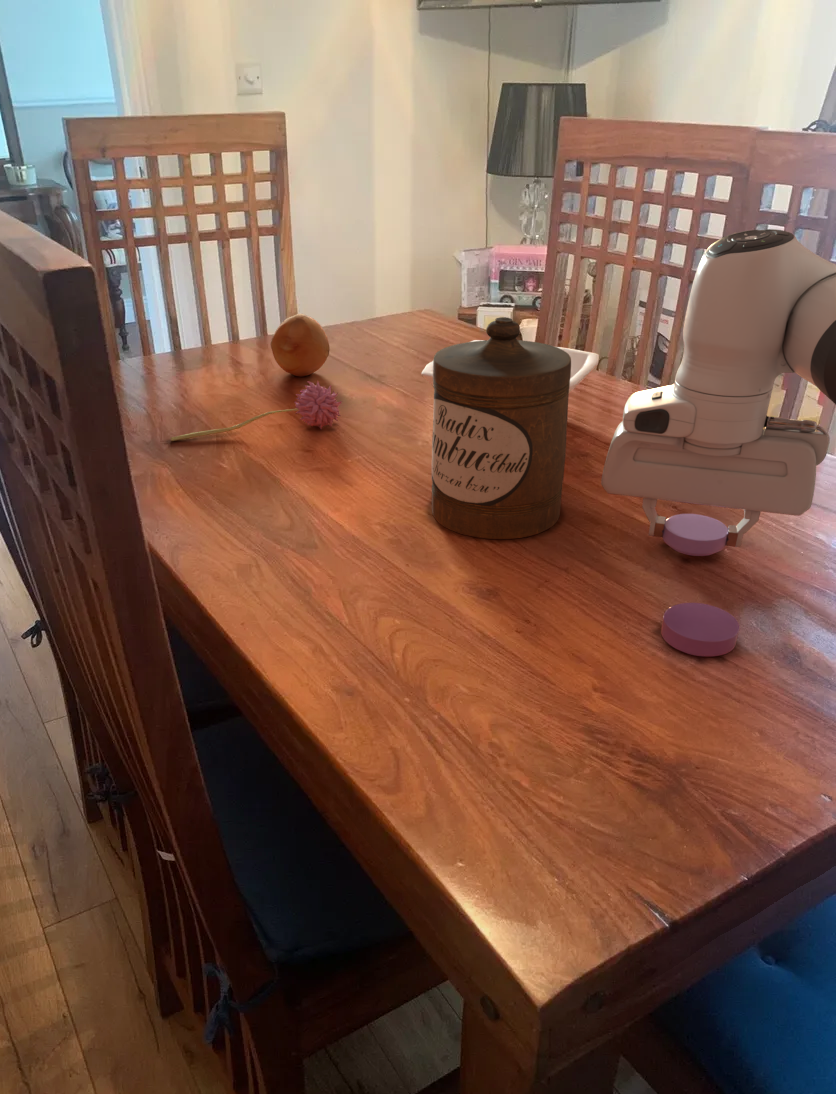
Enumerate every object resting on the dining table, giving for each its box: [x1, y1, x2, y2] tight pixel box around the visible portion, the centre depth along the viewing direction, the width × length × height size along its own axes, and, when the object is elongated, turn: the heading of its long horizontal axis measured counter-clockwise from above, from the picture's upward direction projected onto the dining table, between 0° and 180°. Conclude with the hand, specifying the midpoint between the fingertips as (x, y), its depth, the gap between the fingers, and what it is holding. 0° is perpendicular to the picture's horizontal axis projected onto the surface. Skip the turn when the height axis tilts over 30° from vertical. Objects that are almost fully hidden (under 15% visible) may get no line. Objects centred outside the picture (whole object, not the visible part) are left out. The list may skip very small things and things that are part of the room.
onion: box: [270, 313, 331, 377], centre depth 147 cm, size 10×10×10 cm
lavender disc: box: [661, 513, 728, 557], centre depth 90 cm, size 6×6×2 cm
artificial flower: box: [170, 380, 343, 442], centre depth 123 cm, size 7×7×25 cm
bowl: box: [420, 339, 600, 394], centre depth 125 cm, size 22×23×8 cm
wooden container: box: [431, 316, 571, 540], centre depth 95 cm, size 15×15×22 cm
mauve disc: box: [660, 602, 741, 657], centre depth 76 cm, size 6×6×2 cm
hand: (693, 539), depth 91 cm, fingers closed on lavender disc, 6 cm apart
